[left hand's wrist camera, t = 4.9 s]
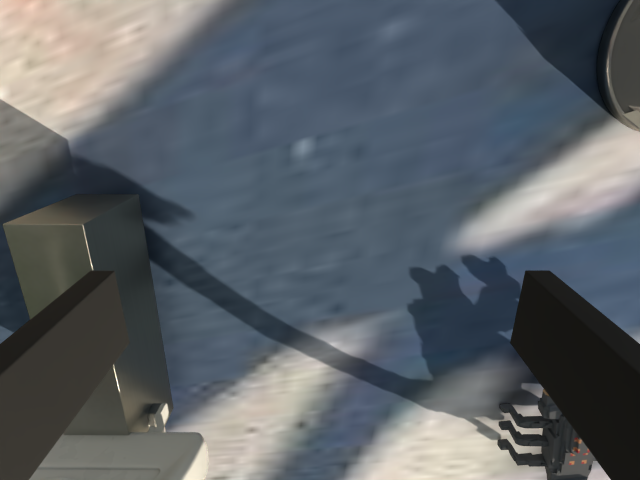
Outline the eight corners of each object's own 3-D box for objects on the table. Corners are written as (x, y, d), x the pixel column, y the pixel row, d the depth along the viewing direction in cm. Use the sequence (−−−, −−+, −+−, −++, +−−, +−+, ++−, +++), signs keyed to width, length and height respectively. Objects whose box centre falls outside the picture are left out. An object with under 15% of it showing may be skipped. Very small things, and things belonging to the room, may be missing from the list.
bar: (76, 193, 38) (1, 224, 29) (138, 194, 38) (82, 224, 29) (123, 407, 47) (76, 480, 38) (173, 408, 47) (138, 480, 38)
